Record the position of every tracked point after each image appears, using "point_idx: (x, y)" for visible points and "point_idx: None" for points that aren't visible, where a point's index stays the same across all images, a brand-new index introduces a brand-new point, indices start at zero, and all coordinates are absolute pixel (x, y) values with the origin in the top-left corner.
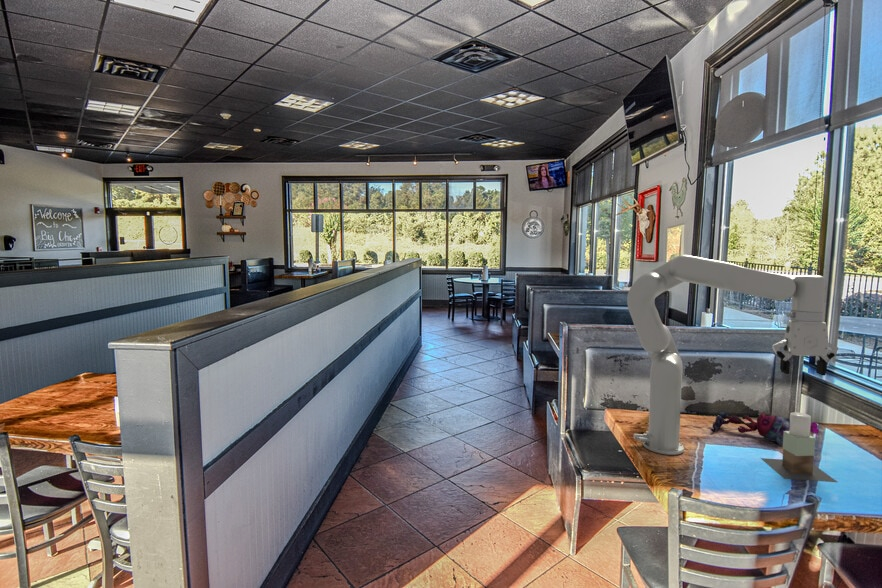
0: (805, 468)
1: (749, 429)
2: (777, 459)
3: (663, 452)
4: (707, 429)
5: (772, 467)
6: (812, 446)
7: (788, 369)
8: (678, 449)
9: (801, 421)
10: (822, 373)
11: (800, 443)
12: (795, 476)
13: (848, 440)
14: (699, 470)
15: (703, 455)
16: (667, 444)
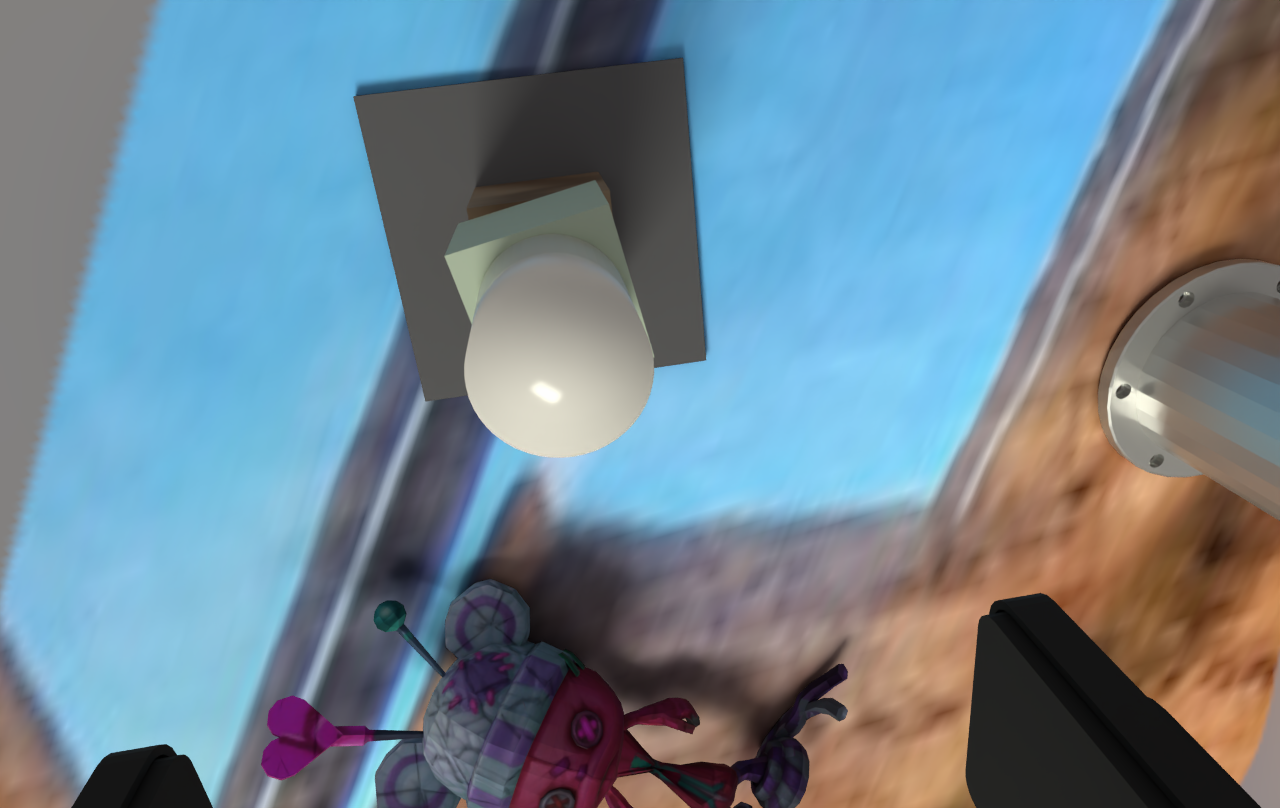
0: (519, 187)
1: (641, 718)
2: None
3: (1263, 262)
4: None
5: (689, 228)
6: (471, 232)
7: (1086, 672)
8: (1167, 319)
9: (580, 272)
10: (164, 781)
11: (572, 206)
12: (598, 114)
13: None
14: (1147, 68)
15: (1018, 320)
16: (1268, 302)
